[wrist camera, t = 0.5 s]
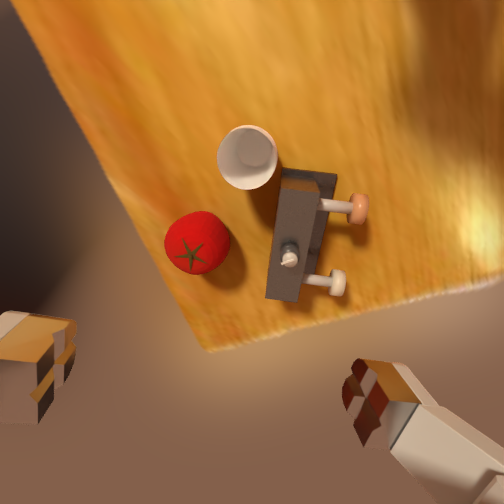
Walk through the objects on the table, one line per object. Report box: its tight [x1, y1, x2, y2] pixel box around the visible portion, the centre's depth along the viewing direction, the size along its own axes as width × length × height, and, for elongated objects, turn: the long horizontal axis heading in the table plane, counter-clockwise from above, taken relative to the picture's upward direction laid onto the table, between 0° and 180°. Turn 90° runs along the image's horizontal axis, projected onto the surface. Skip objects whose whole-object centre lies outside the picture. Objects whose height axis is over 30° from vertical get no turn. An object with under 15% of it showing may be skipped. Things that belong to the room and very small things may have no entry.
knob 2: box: [301, 269, 346, 296], centre depth 55 cm, size 9×5×5 cm, turn 84°
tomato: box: [164, 211, 230, 275], centre depth 55 cm, size 12×12×13 cm
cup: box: [217, 125, 278, 190], centre depth 47 cm, size 9×9×12 cm
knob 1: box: [317, 193, 369, 224], centre depth 48 cm, size 9×5×5 cm, turn 85°
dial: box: [280, 243, 300, 267], centre depth 47 cm, size 3×3×4 cm
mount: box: [265, 168, 337, 303], centre depth 53 cm, size 10×23×11 cm, turn 174°
